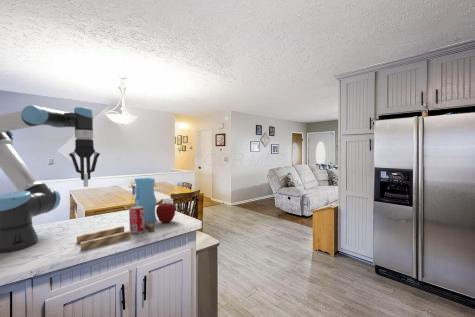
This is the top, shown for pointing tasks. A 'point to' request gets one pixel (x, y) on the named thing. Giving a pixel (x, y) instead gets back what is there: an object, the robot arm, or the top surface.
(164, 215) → the apple
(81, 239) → the chute
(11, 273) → the top surface
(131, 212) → the soda can
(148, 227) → the block
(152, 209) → the light blue storage bin
